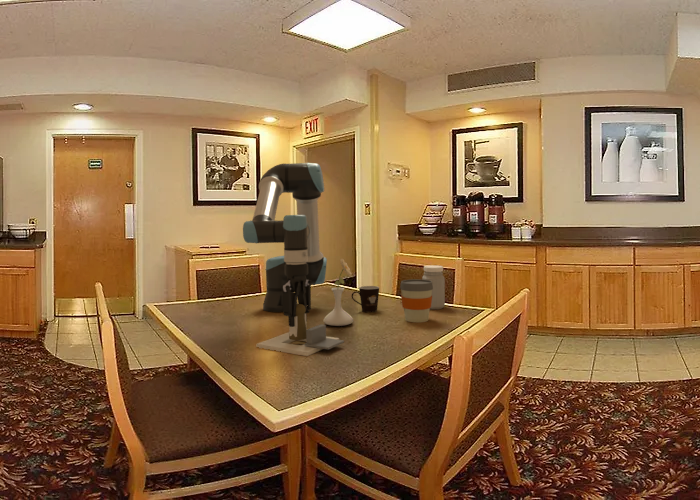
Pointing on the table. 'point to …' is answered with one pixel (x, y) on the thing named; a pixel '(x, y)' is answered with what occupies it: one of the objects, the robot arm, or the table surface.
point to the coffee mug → (368, 298)
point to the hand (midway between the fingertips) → (298, 334)
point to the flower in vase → (339, 303)
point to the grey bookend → (320, 338)
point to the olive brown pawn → (300, 323)
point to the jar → (436, 285)
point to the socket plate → (288, 345)
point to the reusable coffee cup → (416, 299)
